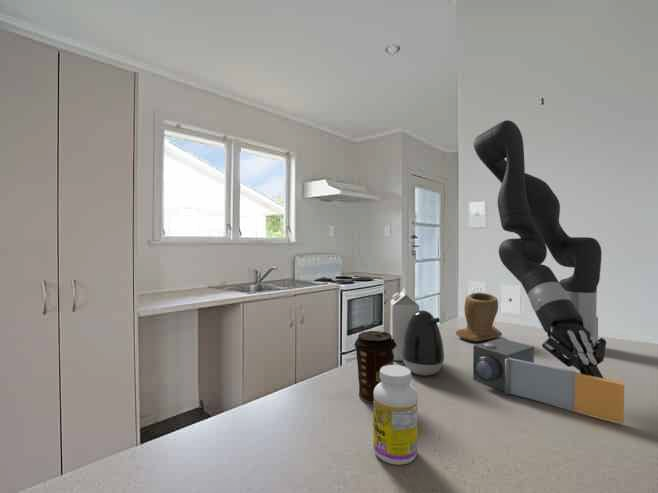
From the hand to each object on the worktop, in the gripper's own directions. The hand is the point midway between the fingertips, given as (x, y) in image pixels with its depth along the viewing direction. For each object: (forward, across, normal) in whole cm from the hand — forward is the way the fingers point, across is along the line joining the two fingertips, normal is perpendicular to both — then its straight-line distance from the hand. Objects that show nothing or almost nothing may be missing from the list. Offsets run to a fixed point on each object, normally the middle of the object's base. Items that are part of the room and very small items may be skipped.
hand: (598, 387), depth 64 cm
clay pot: (-30, -5, -39) cm, 50 cm away
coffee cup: (-3, +39, -13) cm, 41 cm away
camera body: (-7, +9, -15) cm, 19 cm away
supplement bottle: (+10, +41, +1) cm, 42 cm away
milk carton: (-19, +26, -29) cm, 44 cm away
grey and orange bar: (+1, +5, -6) cm, 8 cm away
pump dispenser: (-12, +25, -21) cm, 35 cm away
